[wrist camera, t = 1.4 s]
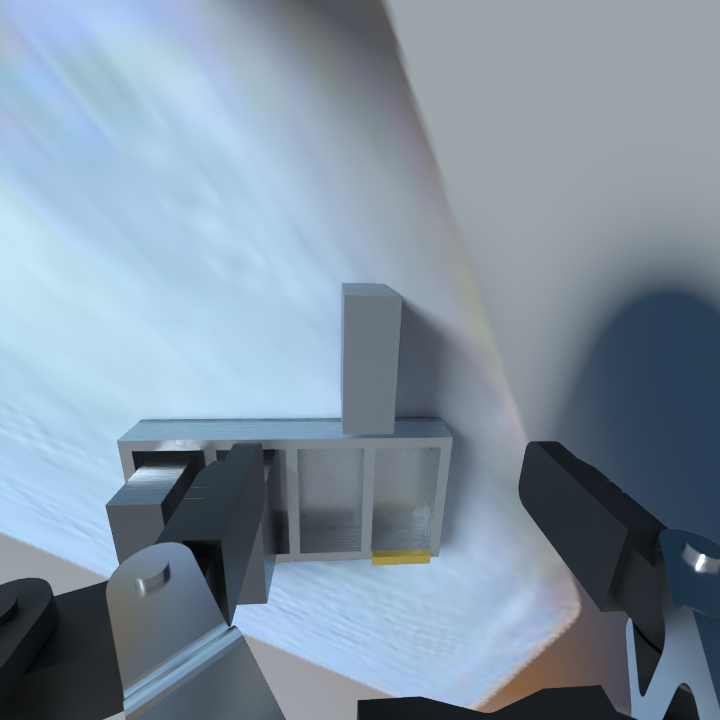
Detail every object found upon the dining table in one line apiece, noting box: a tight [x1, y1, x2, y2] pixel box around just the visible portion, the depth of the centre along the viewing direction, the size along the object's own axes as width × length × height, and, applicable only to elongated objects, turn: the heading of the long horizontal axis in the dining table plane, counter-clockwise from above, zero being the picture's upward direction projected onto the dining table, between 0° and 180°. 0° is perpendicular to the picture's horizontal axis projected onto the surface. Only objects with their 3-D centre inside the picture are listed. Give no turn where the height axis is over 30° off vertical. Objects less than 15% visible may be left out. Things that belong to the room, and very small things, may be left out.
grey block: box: [341, 283, 402, 434], centre depth 22 cm, size 8×3×7 cm, turn 179°
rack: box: [105, 418, 453, 605], centre depth 25 cm, size 23×11×8 cm, turn 89°
